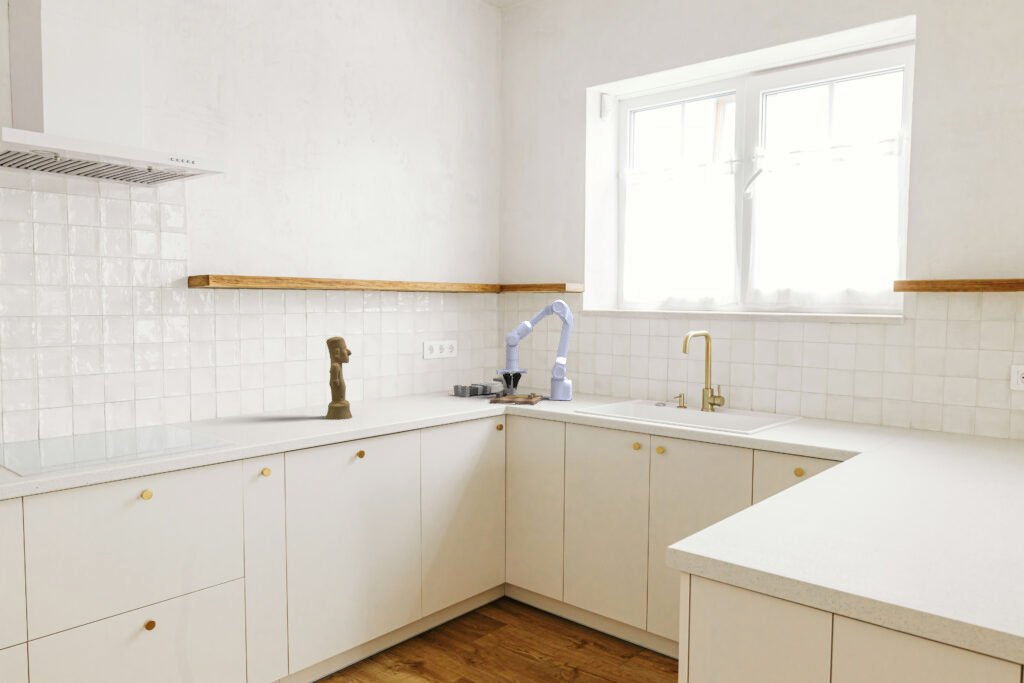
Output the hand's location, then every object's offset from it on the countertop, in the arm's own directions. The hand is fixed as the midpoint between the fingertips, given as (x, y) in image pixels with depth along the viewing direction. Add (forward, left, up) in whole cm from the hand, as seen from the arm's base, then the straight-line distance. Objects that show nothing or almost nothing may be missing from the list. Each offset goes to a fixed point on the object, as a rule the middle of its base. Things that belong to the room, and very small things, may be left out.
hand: (511, 390), depth 330 cm
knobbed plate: (0, +4, -1) cm, 4 cm away
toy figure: (+16, -12, -4) cm, 21 cm away
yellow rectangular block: (-5, +8, -2) cm, 10 cm away
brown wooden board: (-4, +8, -4) cm, 10 cm away
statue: (+49, +70, -4) cm, 86 cm away
